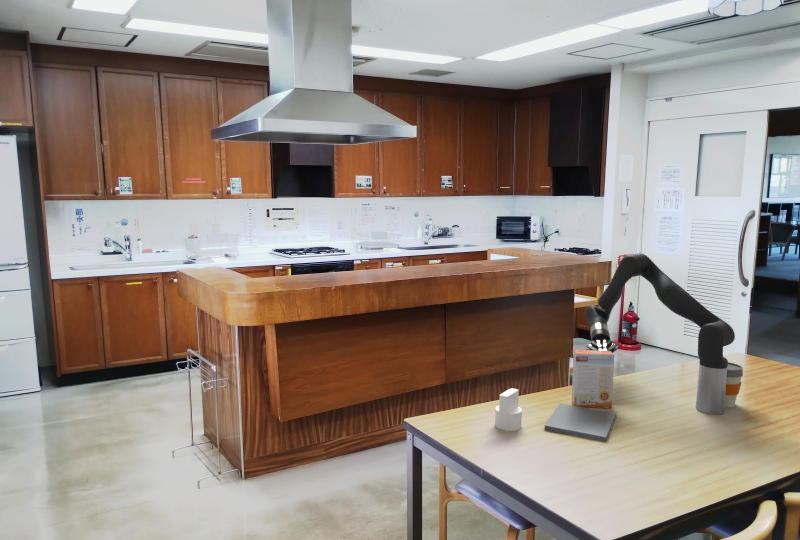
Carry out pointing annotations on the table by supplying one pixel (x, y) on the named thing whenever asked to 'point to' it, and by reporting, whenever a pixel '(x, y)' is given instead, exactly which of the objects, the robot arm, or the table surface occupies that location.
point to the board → (581, 422)
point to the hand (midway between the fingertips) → (603, 359)
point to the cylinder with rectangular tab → (508, 411)
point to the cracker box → (592, 378)
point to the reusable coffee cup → (733, 383)
